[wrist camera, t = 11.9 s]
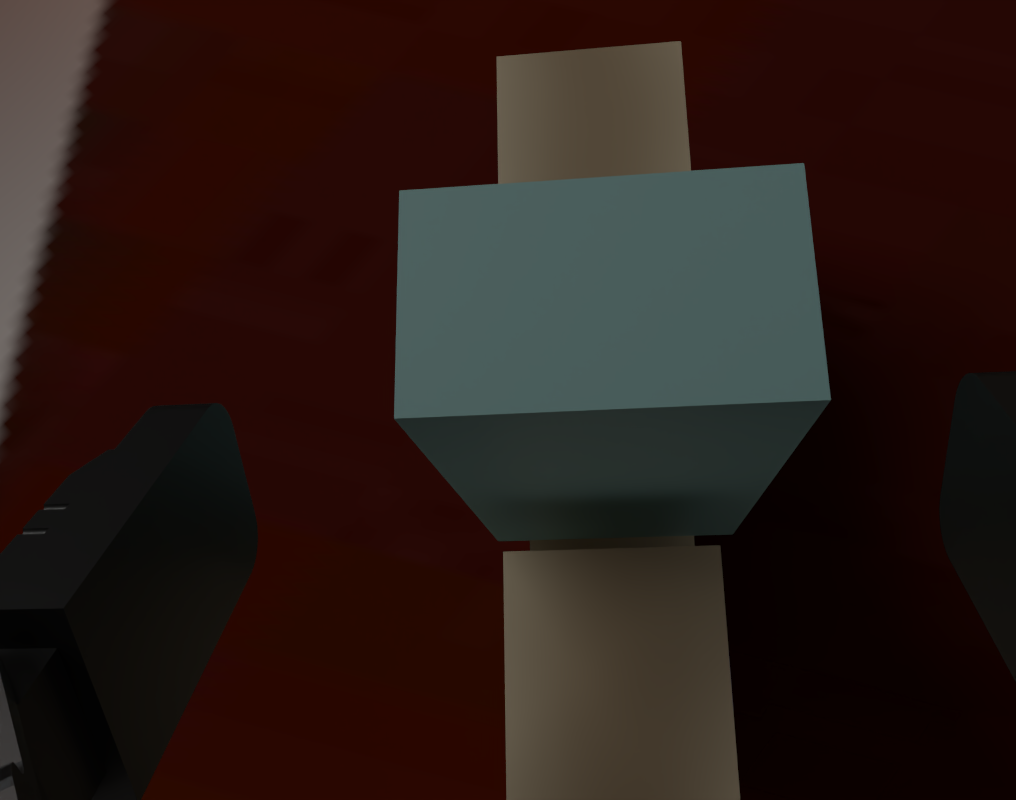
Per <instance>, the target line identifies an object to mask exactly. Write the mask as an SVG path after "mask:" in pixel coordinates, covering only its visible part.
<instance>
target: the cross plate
mask: <svg viewBox="0 0 1016 800" xmlns="http://www.w3.org/2000/svg"><path fill="white" fill-rule="evenodd" d="M830 401H831V396H830V387H829V378H828V370H827V361H826V352H825V343H824V334H823V326H822V317H821V308H820V299H819V290H818V282H817V273H816V264H815V255H814V247H813V238H812V229H811V220H810V211H809V203H808V194H807V185H806V176H805V167H804V163H799V164H784V165H770V166H755V167H740V168H726V169H711V170H696V171H682V172H667V173H652V174H638V175H623V176H608V177H594V178H579V179H564V180H550V181H535V182H520V183H506V184H491V185H476V186H462V187H447V188H432V189H418V190H403V191H399V232H398V275H397V319H396V362H395V406H394V419H395V420H396V421H397V423H398V424H399V425H400V426H401V427H402V428H403V430H404V431H405V432H406V433H407V434H408V435H409V437H410V438H411V439H412V440H413V441H414V443H415V444H416V445H417V446H418V447H419V448H420V450H421V451H422V452H423V453H424V454H425V455H426V457H427V458H428V459H429V460H430V461H431V463H432V464H433V465H434V466H435V467H436V468H437V470H438V471H439V472H440V473H441V474H442V475H443V477H444V478H445V479H446V480H447V481H448V483H449V484H450V485H451V486H452V487H453V488H454V490H455V491H456V492H457V493H458V494H459V495H460V497H461V498H462V499H463V500H464V501H465V503H466V504H467V505H468V506H469V507H470V508H471V510H472V511H473V512H474V513H475V514H476V515H477V517H478V518H479V519H480V520H481V521H482V523H483V524H484V525H485V526H486V527H487V528H488V530H489V531H490V532H491V533H492V534H493V535H494V537H495V538H496V539H497V540H498V541H523V540H558V539H593V538H628V537H662V536H697V535H732V534H734V532H735V531H736V529H737V528H738V527H739V525H740V524H741V523H742V521H743V520H744V518H745V517H746V516H747V514H748V513H749V512H750V510H751V509H752V508H753V506H754V505H755V503H756V502H757V501H758V499H759V498H760V497H761V495H762V494H763V492H764V491H765V490H766V488H767V487H768V486H769V484H770V483H771V481H772V480H773V479H774V477H775V476H776V475H777V473H778V472H779V471H780V469H781V468H782V466H783V465H784V464H785V462H786V461H787V460H788V458H789V457H790V455H791V454H792V453H793V451H794V450H795V449H796V447H797V446H798V444H799V443H800V442H801V440H802V439H803V438H804V436H805V435H806V433H807V432H808V431H809V429H810V428H811V427H812V425H813V424H814V423H815V421H816V420H817V418H818V417H819V416H820V414H821V413H822V412H823V410H824V409H825V407H826V406H827V405H828V403H829V402H830Z"/></svg>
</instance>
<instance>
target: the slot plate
mask: <svg viewBox="0 0 1016 800" xmlns="http://www.w3.org/2000/svg"><path fill="white" fill-rule="evenodd" d="M497 115H498V184H506V183H520V182H535V181H550V180H564V179H579V178H594V177H608V176H623V175H638V174H652V173H667V172H682V171H691V165H690V152H689V139H688V127H687V114H686V101H685V89H684V76H683V63H682V50H681V41H677V42H665V43H653V44H642V45H630V46H618V47H606V48H594V49H582V50H571V51H559V52H547V53H535V54H523V55H512V56H500V57H497ZM503 565H504V640H505V715H506V790H507V800H740V789H739V776H738V764H737V751H736V738H735V725H734V713H733V700H732V687H731V674H730V662H729V649H728V636H727V623H726V611H725V598H724V585H723V573H722V560H721V547H720V545H712V546H695V543H694V536H662V537H628V538H593V539H558V540H530V551H514V552H503Z"/></svg>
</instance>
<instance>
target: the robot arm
mask: <svg viewBox="0 0 1016 800" xmlns="http://www.w3.org/2000/svg"><path fill="white" fill-rule="evenodd" d="M939 511H940V527H941V534H942V538H943V543H944V546H945V549H946V552H947V555H948V557H949V559H950V561H951V563H952V565H953V567H954V568H955V570H956V572H957V574H958V576H959V578H960V579H961V581H962V583H963V585H964V587H965V589H966V591H967V592H968V594H969V596H970V598H971V600H972V602H973V604H974V605H975V607H976V609H977V611H978V613H979V615H980V617H981V618H982V620H983V622H984V624H985V626H986V628H987V630H988V631H989V633H990V635H991V637H992V639H993V641H994V643H995V644H996V646H997V648H998V650H999V652H1000V654H1001V656H1002V657H1003V659H1004V661H1005V663H1006V665H1007V667H1008V669H1009V670H1010V672H1011V674H1012V676H1013V678H1014V680H1015V681H1016V371H1011V372H987V373H969V374H966V375H965V376H964V377H963V378H962V380H961V381H960V383H959V386H958V389H957V392H956V397H955V403H954V409H953V416H952V422H951V429H950V436H949V442H948V449H947V456H946V462H945V469H944V475H943V482H942V489H941V495H940V509H939ZM257 542H258V533H257V522H256V516H255V512H254V508H253V504H252V500H251V496H250V492H249V488H248V484H247V480H246V476H245V472H244V468H243V464H242V460H241V456H240V452H239V448H238V444H237V440H236V436H235V432H234V428H233V425H232V421H231V419H230V416H229V414H228V412H227V411H226V409H225V408H224V407H223V406H222V405H221V404H218V403H211V404H188V405H164V406H153V407H151V408H150V409H148V410H147V411H146V413H145V414H144V415H143V416H142V417H141V419H140V420H139V421H138V422H137V423H136V425H135V426H134V427H133V428H132V429H131V431H130V432H129V433H128V434H127V435H126V437H125V438H124V439H123V440H122V441H121V443H120V444H119V445H118V446H117V447H116V449H115V450H107V451H106V452H104V453H103V454H101V455H100V456H98V457H97V458H95V459H94V460H92V461H91V462H89V463H87V464H86V465H84V466H83V467H81V468H80V469H78V470H77V471H75V472H74V473H72V474H71V475H69V476H68V477H67V478H66V480H65V481H64V482H63V483H62V484H61V485H60V486H59V488H58V489H57V490H56V491H55V492H54V493H53V494H52V496H51V497H50V498H49V499H48V500H47V501H46V502H45V504H44V510H38V512H37V513H36V514H35V515H34V516H33V517H32V518H31V520H30V521H29V522H28V523H27V524H26V525H25V526H24V528H23V535H17V536H16V537H15V538H14V539H13V540H12V541H11V542H10V544H9V545H8V546H7V547H6V548H5V549H4V550H3V552H2V553H1V554H0V800H141V798H142V796H143V794H144V792H145V790H146V788H147V786H148V784H149V782H150V780H151V778H152V776H153V773H154V771H155V769H156V767H157V765H158V763H159V761H160V759H161V757H162V755H163V753H164V751H165V749H166V747H167V745H168V743H169V741H170V739H171V737H172V734H173V732H174V730H175V728H176V726H177V724H178V722H179V720H180V718H181V716H182V714H183V712H184V710H185V708H186V706H187V704H188V702H189V700H190V697H191V695H192V693H193V691H194V689H195V687H196V685H197V683H198V681H199V679H200V677H201V675H202V673H203V671H204V669H205V667H206V665H207V663H208V660H209V658H210V656H211V654H212V652H213V650H214V648H215V646H216V644H217V642H218V640H219V638H220V636H221V634H222V632H223V630H224V628H225V626H226V623H227V621H228V619H229V617H230V615H231V613H232V611H233V609H234V607H235V605H236V603H237V601H238V599H239V597H240V595H241V593H242V591H243V589H244V587H245V584H246V582H247V580H248V578H249V576H250V574H251V572H252V569H253V567H254V563H255V559H256V553H257Z"/></svg>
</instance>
